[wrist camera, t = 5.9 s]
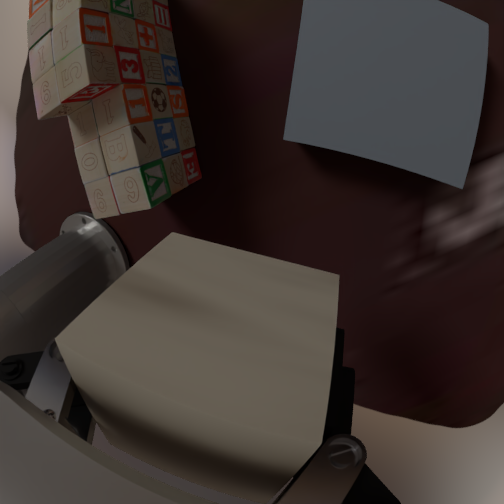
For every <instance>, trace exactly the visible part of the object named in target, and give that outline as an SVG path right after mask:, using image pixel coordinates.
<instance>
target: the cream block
mask: <svg viewBox="0 0 504 504" xmlns="http://www.w3.org/2000/svg"><path fill="white" fill-rule="evenodd" d="M338 291H339V275H337V274H333V273H329V272H325V271H321V270H317V269H313V268H309V267H306V266H302V265H298V264H294V263H290V262H286V261H282V260H278V259H274V258H270V257H267V256H263V255H259V254H255V253H251V252H247V251H243V250H239V249H235V248H232V247H228V246H224V245H220V244H216V243H212V242H208V241H204V240H200V239H197V238H193V237H189V236H185V235H181V234H177V233H173V232H172V233H171V234H170V235H168V236H167V237H166V238H165V239H164V240H162V241H161V242H160V243H159V244H158V245H156V246H155V247H154V248H153V249H152V250H151V251H149V252H148V253H147V254H146V255H145V256H144V257H142V258H141V259H140V260H139V261H138V262H137V263H136V264H134V265H133V266H132V267H131V268H130V269H129V270H128V271H126V272H125V273H124V274H123V275H122V276H121V277H120V278H119V279H117V280H116V281H115V282H114V283H113V284H112V285H111V286H110V287H109V288H107V289H106V290H105V291H104V292H103V293H102V294H101V295H100V296H99V297H98V298H97V299H96V300H94V301H93V302H92V303H91V304H90V305H89V306H88V307H87V308H86V309H85V310H84V311H83V312H82V313H81V314H80V315H79V316H78V317H76V318H75V319H74V320H73V321H72V322H71V323H70V324H69V325H68V326H67V327H66V328H65V329H64V330H63V331H62V332H61V333H60V334H59V335H58V336H57V337H56V338H55V341H56V343H57V346H58V348H59V350H60V353H61V355H62V357H63V359H64V362H65V364H66V366H67V368H68V370H69V372H70V374H71V376H72V378H73V380H74V382H75V384H76V386H77V388H78V390H79V392H80V394H81V396H82V398H83V400H84V401H85V403H86V405H87V407H88V409H89V410H90V412H91V414H92V416H93V417H94V419H95V421H96V422H97V424H98V426H99V427H100V429H101V430H102V432H103V433H104V435H105V437H106V438H107V440H108V441H109V443H110V444H111V445H113V446H115V447H117V448H118V449H120V450H122V451H124V452H126V453H128V454H130V455H132V456H134V457H136V458H138V459H140V460H142V461H144V462H146V463H148V464H150V465H152V466H155V467H156V468H159V469H161V470H163V471H166V472H168V473H170V474H173V475H175V476H177V477H180V478H182V479H185V480H188V481H190V482H193V483H196V484H198V485H201V486H204V487H207V488H210V489H213V490H216V491H219V492H222V493H225V494H229V495H232V496H235V497H239V498H243V499H246V500H250V501H254V502H258V503H262V504H266V503H267V502H268V501H269V500H270V499H271V498H272V497H273V496H274V495H275V494H276V493H277V492H278V491H279V490H280V489H281V488H282V487H283V486H284V485H285V484H286V483H287V482H288V481H289V480H290V479H291V478H292V477H293V476H294V475H295V474H296V473H297V471H298V470H299V469H300V468H301V467H302V466H303V465H304V464H305V463H306V462H307V460H308V459H309V458H310V457H311V456H312V455H313V453H314V452H315V451H316V450H317V449H318V448H319V446H320V445H321V444H322V439H323V433H324V426H325V420H326V413H327V406H328V399H329V391H330V383H331V375H332V366H333V356H334V346H335V335H336V322H337V308H338Z"/></svg>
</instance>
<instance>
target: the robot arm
mask: <svg viewBox="0 0 504 504" xmlns="http://www.w3.org/2000/svg"><path fill="white" fill-rule="evenodd" d="M129 269H130V266H129V261H128V257H127V254H126V252H125V249H124V247H123V245H122V243H121V241H120V240H119V238H118V236H117V235H116V234H115V232H114V231H113V230H112V229H111V228H110V227H109V225H108V224H107V223H105V222H104V221H103V220H102V219H95V218H94V216H93V214H91V213H88V212H78V213H75V214H73V215H71V216H69V217H68V218H67V219H66V220H65V221H64V223H63V224H62V227H61V230H60V236H59V237H57V238H56V239H54V240H52V241H51V242H49V243H48V244H46V245H45V246H43V247H42V248H40V249H38V250H37V251H35V252H34V253H33V254H31V255H30V256H28V257H27V258H25V259H24V260H22V261H21V262H19V263H18V264H16V265H15V266H14V267H12V268H11V269H10V270H8V271H7V272H5V273H4V274H3V275H1V276H0V504H218V503H215V502H212V501H209V500H206V499H203V498H201V497H198V496H195V495H192V494H190V493H187V492H184V491H182V490H179V489H177V488H174V487H172V486H170V485H167V484H165V483H163V482H160V481H158V480H156V479H154V478H152V477H149V476H147V475H145V474H143V473H141V472H139V471H137V470H135V469H133V468H131V467H129V466H127V465H125V464H124V463H122V462H120V461H118V460H116V459H114V458H113V457H111V456H109V455H107V454H106V453H104V452H102V451H100V450H99V449H97V448H96V447H94V446H92V441H93V436H94V430H95V425H96V421H95V419H94V417H93V416H92V414H91V412H90V410H89V409H88V407H87V405H86V403H85V401H84V400H83V398H82V396H81V394H80V392H79V390H78V388H77V386H76V384H75V382H74V380H73V378H72V376H71V374H70V372H69V370H68V368H67V366H66V364H65V362H64V359H63V357H62V355H61V353H60V350H59V348H58V346H57V343H56V341H55V338H56V337H57V336H58V335H59V334H60V333H61V332H62V331H63V330H64V329H65V328H66V327H67V326H68V325H69V324H70V323H71V322H72V321H73V320H74V319H75V318H76V317H78V316H79V315H80V314H81V313H82V312H83V311H84V310H85V309H86V308H87V307H88V306H89V305H90V304H91V303H92V302H93V301H94V300H96V299H97V298H98V297H99V296H100V295H101V294H102V293H103V292H104V291H105V290H106V289H107V288H109V287H110V286H111V285H112V284H113V283H114V282H115V281H116V280H117V279H119V278H120V277H121V276H122V275H123V274H124V273H125V272H126V271H128V270H129ZM343 348H344V329H340V328H336V335H335V346H334V356H333V366H332V375H331V383H330V391H329V399H328V406H327V413H326V420H325V426H324V433H323V439H322V444H321V445H320V446H319V448H318V449H317V450H316V451H315V452H314V453H313V455H312V456H311V457H310V458H309V459H308V460H307V462H306V463H305V464H304V465H303V466H302V467H301V468H300V469H299V470H298V471H297V473H296V474H295V475H294V476H293V479H292V480H291V482H290V483H289V484H288V485H287V487H286V488H285V489H284V490H283V491H282V493H281V494H280V495H279V496H278V497H277V498H276V500H275V501H274V502H273V503H272V504H401V503H400V501H399V500H398V499H397V498H396V497H395V496H394V495H393V494H392V493H391V492H390V490H388V488H387V487H386V486H385V485H384V484H383V483H382V482H381V481H380V479H378V477H377V476H376V475H375V474H374V473H373V472H372V471H371V470H370V468H369V467H368V466H367V465H366V464H365V461H366V458H367V453H366V449H365V446H364V445H363V443H362V442H361V441H360V440H359V439H358V438H356V437H355V436H352V435H351V426H352V415H353V401H354V384H355V370H354V369H353V368H348V367H343V366H342V363H343Z"/></svg>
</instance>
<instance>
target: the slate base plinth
mask: <svg viewBox="0 0 504 504" xmlns="http://www.w3.org/2000/svg"><path fill="white" fill-rule="evenodd" d="M487 54H488V24H487V23H485V22H483V21H482V20H480V19H478V18H476V17H474V16H472V15H470V14H468V13H465V12H463V11H461V10H459V9H457V8H455V7H452V6H450V5H448V4H445V3H443V2H440V1H438V0H304V2H303V9H302V17H301V24H300V31H299V38H298V45H297V52H296V59H295V65H294V72H293V79H292V86H291V92H290V99H289V106H288V112H287V119H286V125H285V132H284V138H283V140H288V141H294V142H299V143H304V144H309V145H313V146H318V147H322V148H327V149H331V150H336V151H340V152H344V153H348V154H352V155H356V156H360V157H364V158H367V159H371V160H375V161H378V162H382V163H385V164H389V165H392V166H395V167H399V168H402V169H405V170H408V171H411V172H415V173H418V174H421V175H424V176H427V177H430V178H433V179H435V180H438V181H441V182H444V183H447V184H449V185H452V186H455V187H457V188H460V189H463V186H464V183H465V179H466V176H467V172H468V168H469V165H470V161H471V157H472V153H473V148H474V144H475V139H476V135H477V130H478V125H479V119H480V114H481V108H482V101H483V94H484V87H485V78H486V68H487Z"/></svg>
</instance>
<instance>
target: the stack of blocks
mask: <svg viewBox="0 0 504 504" xmlns="http://www.w3.org/2000/svg"><path fill="white" fill-rule="evenodd" d="M29 3H30V5H29V20H28V23H27V31H28V32H27V33H28V49H29V50H30V52H29V60H30V70H31V79H32V83H33V91H34V98H35V104H36V110H37V116H38V120H42V119H47V118H53V117H58V116H65V115H67V116H68V121H69V126H70V130H71V135H72V139H73V143H74V147H75V154H76V158H77V162H78V166H79V170H80V174H81V178H82V181H83V184H84V185H85V189H86V193H87V196H88V199H89V203H90V207H91V209H92V212H93V216H94V218H95V219H100V218H105V217H110V216H116V215H120V214H123V213H129V212H135V211H140V210H146V209H151V208H153V207H155V206H156V205H158V204H160V203H161V202H163V201H164V200H166V199H168V198H169V197H171V195H172V194H175V193H177V192H178V191H180V190H182V189H184V188H186V187H187V186H188V185H190V184H192V183H194V182H196V181H197V180H199V179H201V178H202V175H201V171H200V167H199V163H198V159H197V154H196V149H195V148H194V147H195V141H194V136H193V132H192V127H191V122H190V119H189V113H188V108H187V103H186V97H185V93H184V88H183V87H182V81H181V77H180V71H179V66H178V60H177V58H176V51H175V46H174V41H173V35H172V25H171V20H170V14H169V8H168V0H30V2H29Z"/></svg>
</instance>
